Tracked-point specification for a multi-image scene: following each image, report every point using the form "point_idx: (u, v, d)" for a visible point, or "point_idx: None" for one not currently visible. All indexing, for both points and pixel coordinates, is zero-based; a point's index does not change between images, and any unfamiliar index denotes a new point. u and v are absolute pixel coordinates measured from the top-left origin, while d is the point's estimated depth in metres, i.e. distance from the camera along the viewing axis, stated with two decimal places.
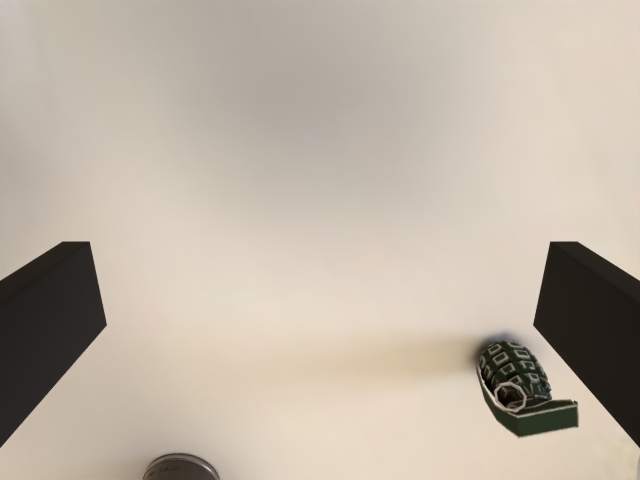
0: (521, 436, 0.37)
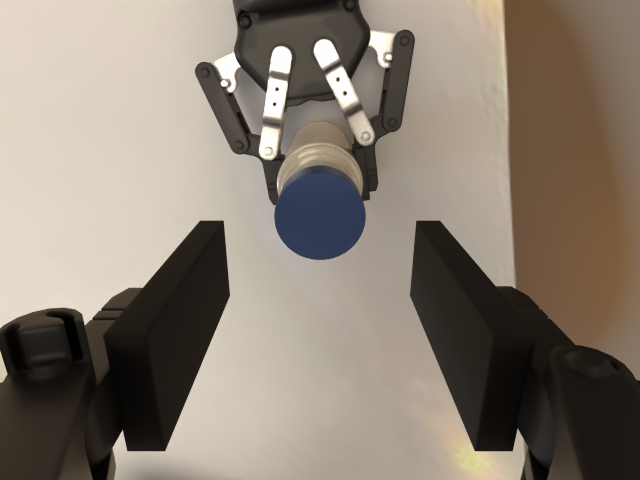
0: None
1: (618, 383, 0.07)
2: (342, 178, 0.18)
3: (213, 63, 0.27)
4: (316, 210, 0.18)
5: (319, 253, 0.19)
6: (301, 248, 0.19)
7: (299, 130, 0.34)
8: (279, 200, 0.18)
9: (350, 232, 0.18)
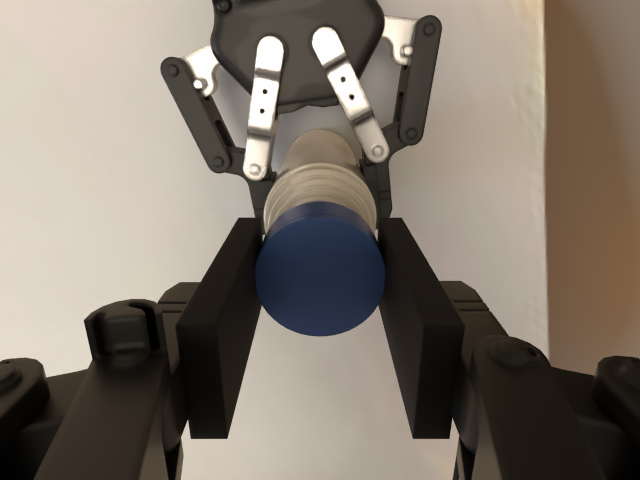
0: None
1: (534, 369, 0.07)
2: (353, 224, 0.12)
3: (184, 58, 0.21)
4: (314, 269, 0.12)
5: (319, 328, 0.13)
6: (293, 321, 0.13)
7: (295, 140, 0.28)
8: (261, 255, 0.12)
9: (364, 299, 0.13)
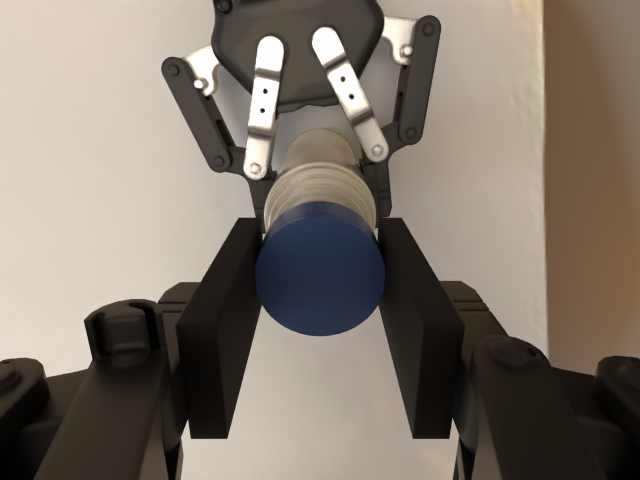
0: None
1: (534, 369, 0.07)
2: (255, 269, 0.13)
3: (185, 58, 0.21)
4: (310, 288, 0.13)
5: (373, 263, 0.12)
6: (373, 288, 0.13)
7: (295, 140, 0.28)
8: (315, 334, 0.13)
9: (325, 233, 0.12)
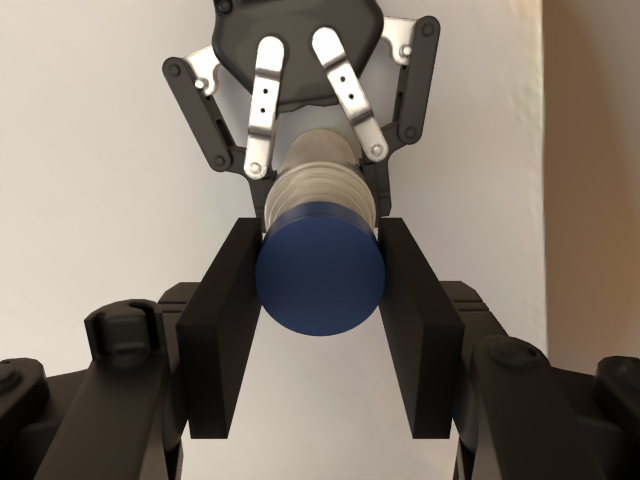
0: None
1: (534, 369, 0.07)
2: None
3: (186, 59, 0.21)
4: (332, 285, 0.13)
5: (283, 240, 0.12)
6: (309, 229, 0.12)
7: (295, 139, 0.29)
8: (381, 263, 0.12)
9: (272, 291, 0.13)
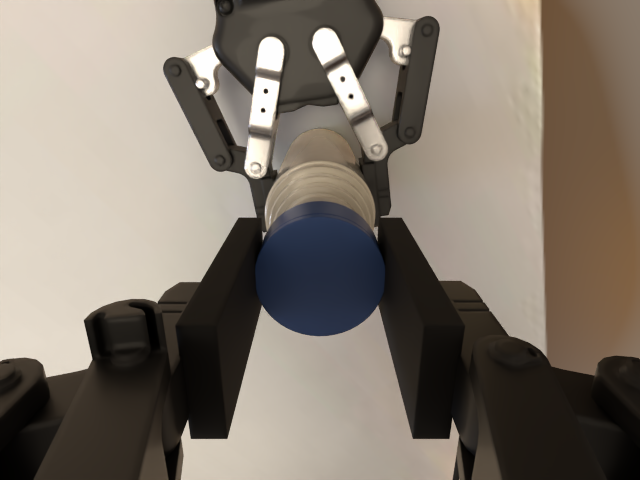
0: None
1: (534, 369, 0.07)
2: (376, 245, 0.12)
3: (186, 59, 0.21)
4: (321, 267, 0.12)
5: (293, 321, 0.13)
6: (274, 304, 0.13)
7: (295, 139, 0.29)
8: (280, 231, 0.12)
9: (347, 315, 0.13)
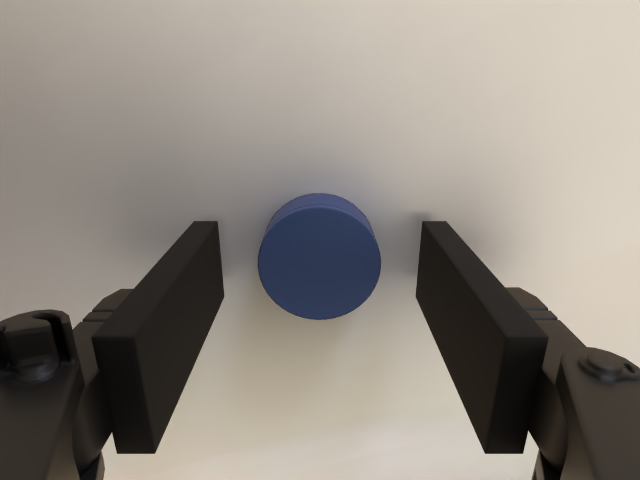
0: None
1: (632, 386, 0.06)
2: (371, 234, 0.13)
3: None
4: (320, 255, 0.13)
5: (294, 306, 0.14)
6: (276, 290, 0.14)
7: None
8: (282, 221, 0.13)
9: (345, 300, 0.14)
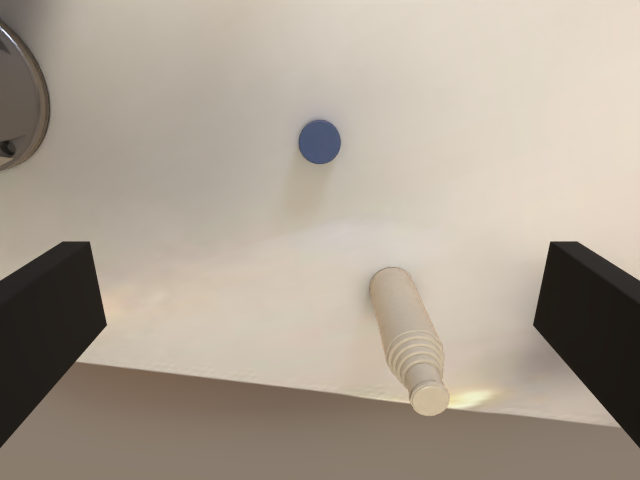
0: None
1: None
2: (337, 131, 0.40)
3: None
4: (320, 138, 0.40)
5: (311, 158, 0.40)
6: (305, 152, 0.40)
7: None
8: (307, 126, 0.39)
9: (328, 156, 0.40)
